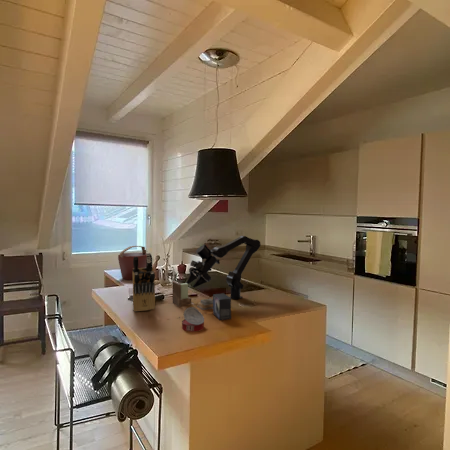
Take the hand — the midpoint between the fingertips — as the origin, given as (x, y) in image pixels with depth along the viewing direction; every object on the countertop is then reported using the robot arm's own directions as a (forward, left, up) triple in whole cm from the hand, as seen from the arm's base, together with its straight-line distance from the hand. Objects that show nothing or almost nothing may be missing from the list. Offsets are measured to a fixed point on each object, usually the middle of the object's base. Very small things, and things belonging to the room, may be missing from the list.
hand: (189, 285), depth 186 cm
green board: (+3, -2, -10) cm, 10 cm away
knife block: (+18, -18, -11) cm, 28 cm away
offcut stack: (+2, +13, -11) cm, 17 cm away
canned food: (+29, +23, -11) cm, 39 cm away
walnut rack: (+3, -2, -11) cm, 11 cm away
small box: (+9, +26, -11) cm, 30 cm away
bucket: (-36, -79, -11) cm, 88 cm away
